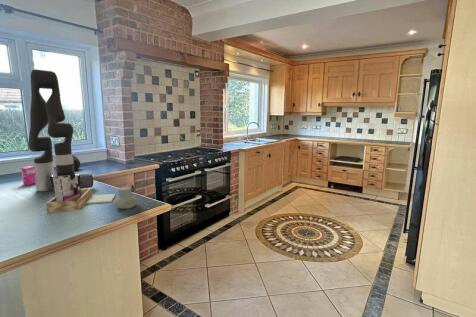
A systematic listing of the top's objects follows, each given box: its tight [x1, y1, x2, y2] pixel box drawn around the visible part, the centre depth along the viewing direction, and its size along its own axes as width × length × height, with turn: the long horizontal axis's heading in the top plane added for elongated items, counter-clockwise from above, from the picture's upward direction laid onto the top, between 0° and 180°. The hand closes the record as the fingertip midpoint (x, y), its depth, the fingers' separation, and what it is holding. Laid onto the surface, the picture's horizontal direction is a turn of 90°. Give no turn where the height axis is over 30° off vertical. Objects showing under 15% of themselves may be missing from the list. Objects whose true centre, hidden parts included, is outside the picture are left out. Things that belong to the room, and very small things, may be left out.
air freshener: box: [113, 186, 138, 210], centre depth 134 cm, size 11×8×10 cm
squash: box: [72, 154, 81, 171], centre depth 212 cm, size 14×15×15 cm
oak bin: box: [45, 187, 93, 213], centre depth 139 cm, size 14×22×4 cm, turn 14°
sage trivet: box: [86, 193, 116, 205], centre depth 145 cm, size 12×12×1 cm
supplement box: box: [20, 165, 36, 186], centre depth 173 cm, size 6×6×12 cm
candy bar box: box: [53, 171, 81, 202], centre depth 135 cm, size 11×5×16 cm, turn 168°
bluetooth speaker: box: [47, 173, 94, 191], centre depth 160 cm, size 23×9×10 cm, turn 106°
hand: (68, 194), depth 135 cm, fingers closed on candy bar box, 6 cm apart
